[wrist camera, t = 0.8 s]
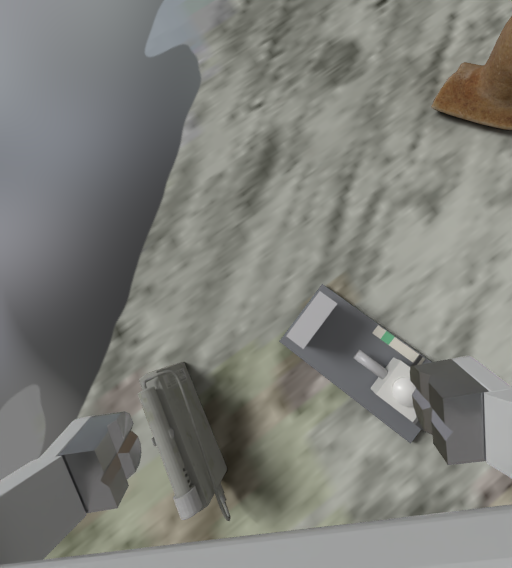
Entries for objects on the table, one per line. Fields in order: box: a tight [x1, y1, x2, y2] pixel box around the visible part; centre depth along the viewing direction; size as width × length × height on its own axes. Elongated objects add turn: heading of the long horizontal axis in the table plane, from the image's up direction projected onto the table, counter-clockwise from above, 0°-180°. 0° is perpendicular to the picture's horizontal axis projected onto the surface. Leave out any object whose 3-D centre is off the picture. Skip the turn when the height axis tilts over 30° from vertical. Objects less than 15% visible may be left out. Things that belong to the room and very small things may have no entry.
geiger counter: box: [138, 362, 230, 521], centre depth 48 cm, size 14×6×25 cm
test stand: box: [279, 284, 432, 443], centre depth 47 cm, size 25×12×10 cm, turn 53°
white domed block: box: [353, 350, 426, 432], centre depth 47 cm, size 13×9×5 cm
